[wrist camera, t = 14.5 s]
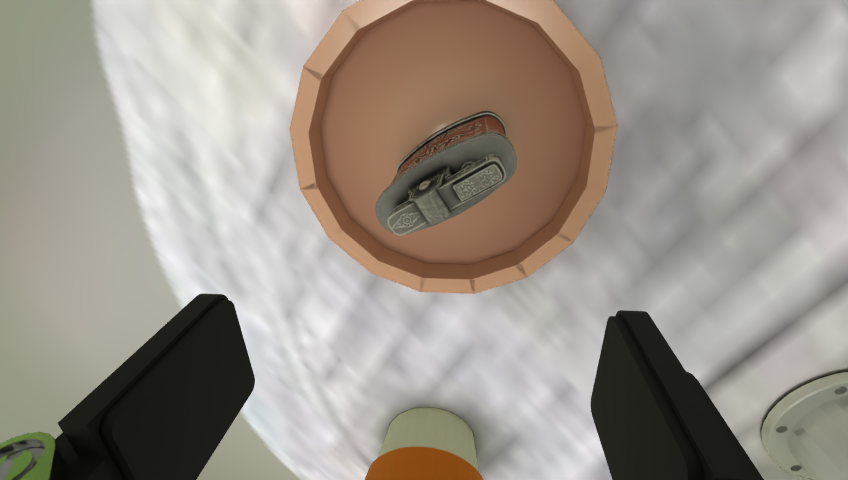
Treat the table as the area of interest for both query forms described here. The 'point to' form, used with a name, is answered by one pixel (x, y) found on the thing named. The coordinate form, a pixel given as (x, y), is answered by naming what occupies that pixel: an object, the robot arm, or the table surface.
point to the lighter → (448, 174)
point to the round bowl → (441, 106)
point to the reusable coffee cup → (426, 448)
